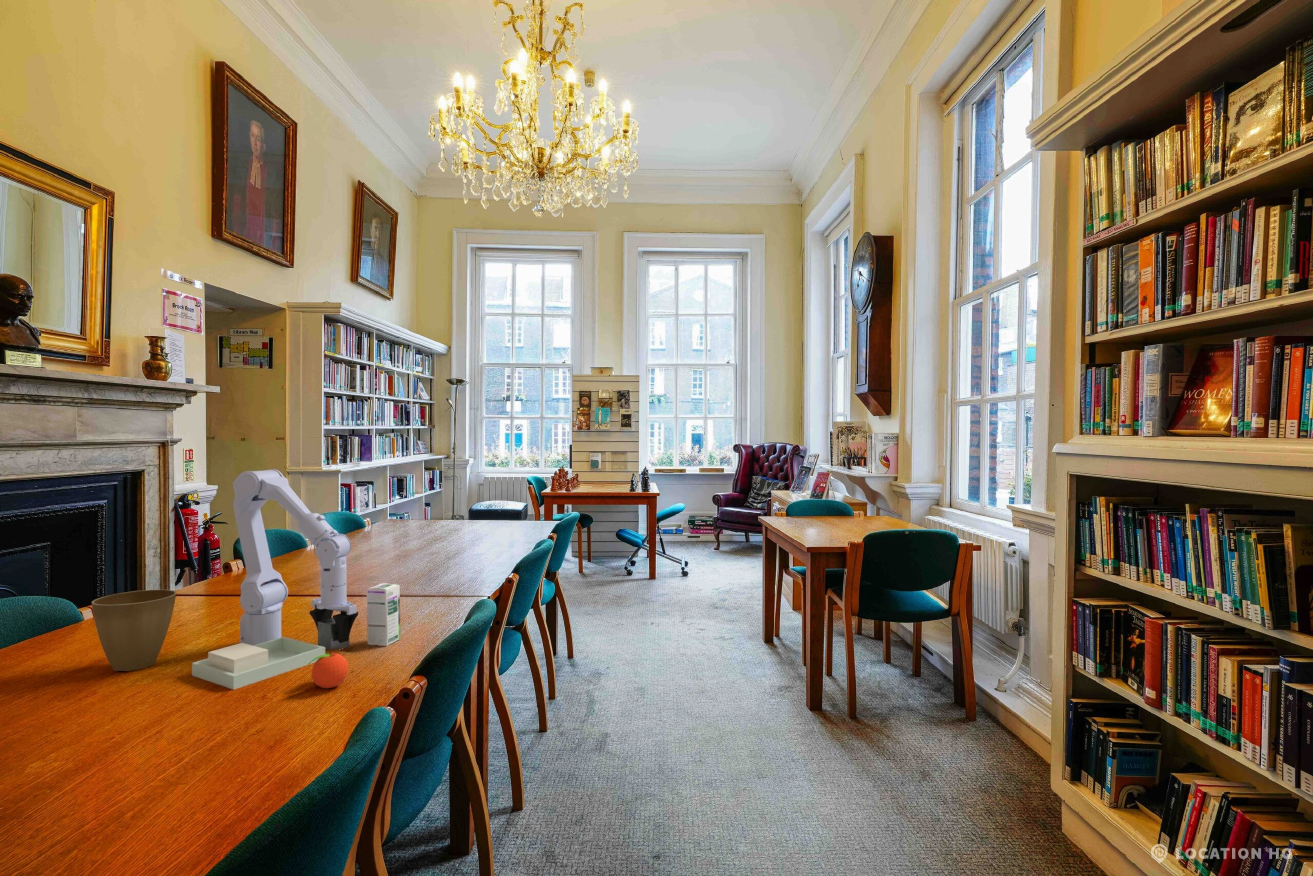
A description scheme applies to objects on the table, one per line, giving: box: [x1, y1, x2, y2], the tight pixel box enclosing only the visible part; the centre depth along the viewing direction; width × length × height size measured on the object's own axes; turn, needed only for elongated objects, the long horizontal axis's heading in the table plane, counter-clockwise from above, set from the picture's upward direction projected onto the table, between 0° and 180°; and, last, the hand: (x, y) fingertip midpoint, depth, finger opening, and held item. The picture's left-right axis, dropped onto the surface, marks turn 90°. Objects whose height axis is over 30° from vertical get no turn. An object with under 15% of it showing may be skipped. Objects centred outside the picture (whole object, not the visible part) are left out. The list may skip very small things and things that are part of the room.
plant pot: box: [91, 589, 177, 672], centre depth 143 cm, size 15×15×16 cm
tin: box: [317, 617, 350, 651], centre depth 155 cm, size 5×5×7 cm
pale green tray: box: [191, 636, 326, 691], centre depth 141 cm, size 16×20×4 cm
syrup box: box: [366, 582, 402, 647], centre depth 160 cm, size 6×6×14 cm
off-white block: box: [207, 642, 268, 674], centre depth 136 cm, size 10×7×5 cm
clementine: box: [307, 652, 349, 689], centre depth 131 cm, size 8×7×7 cm
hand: (333, 639), depth 155 cm, fingers open, 7 cm apart
